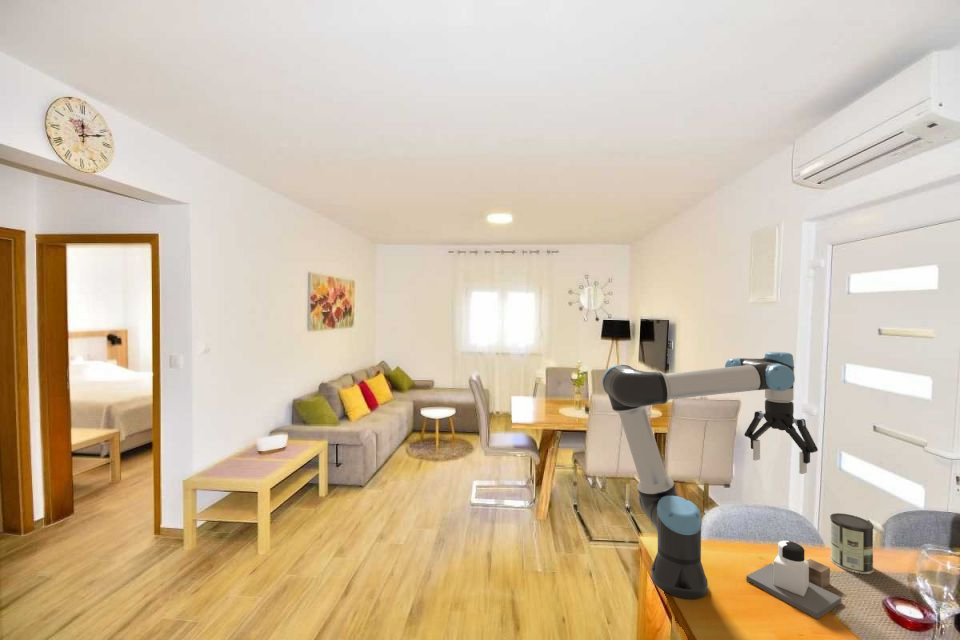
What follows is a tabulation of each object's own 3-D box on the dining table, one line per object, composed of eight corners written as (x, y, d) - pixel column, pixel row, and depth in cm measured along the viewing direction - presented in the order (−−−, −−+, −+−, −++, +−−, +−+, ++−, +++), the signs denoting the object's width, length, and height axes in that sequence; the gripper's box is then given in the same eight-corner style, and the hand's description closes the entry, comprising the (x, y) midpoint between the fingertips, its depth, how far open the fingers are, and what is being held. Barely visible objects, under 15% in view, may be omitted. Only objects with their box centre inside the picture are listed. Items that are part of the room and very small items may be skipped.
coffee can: (858, 557, 137) (858, 514, 137) (882, 576, 127) (882, 530, 127) (822, 553, 139) (822, 511, 139) (842, 572, 129) (843, 526, 129)
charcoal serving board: (746, 580, 125) (746, 575, 125) (770, 568, 131) (770, 563, 131) (817, 619, 109) (817, 613, 109) (841, 602, 115) (841, 597, 115)
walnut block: (801, 579, 125) (801, 563, 125) (810, 575, 128) (810, 558, 128) (821, 589, 121) (821, 572, 121) (829, 584, 123) (829, 567, 123)
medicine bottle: (809, 586, 120) (809, 544, 120) (804, 597, 115) (804, 554, 115) (779, 574, 125) (779, 535, 125) (773, 585, 120) (773, 544, 120)
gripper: (831, 406, 125) (831, 476, 126) (745, 392, 147) (745, 452, 148) (819, 409, 122) (818, 481, 122) (733, 394, 144) (733, 456, 144)
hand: (778, 466), depth 135 cm, fingers open, 13 cm apart
